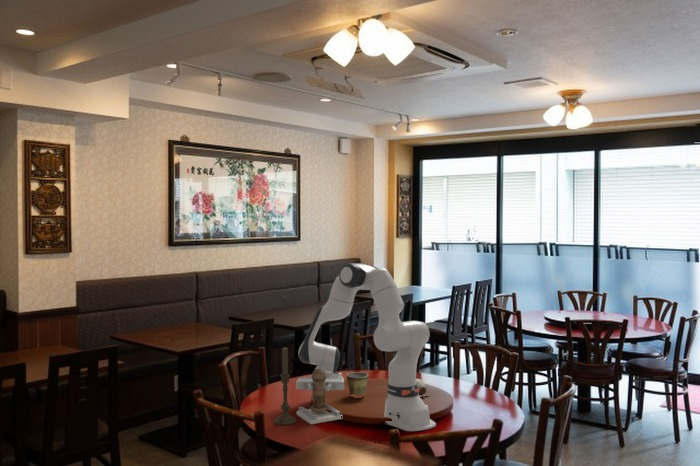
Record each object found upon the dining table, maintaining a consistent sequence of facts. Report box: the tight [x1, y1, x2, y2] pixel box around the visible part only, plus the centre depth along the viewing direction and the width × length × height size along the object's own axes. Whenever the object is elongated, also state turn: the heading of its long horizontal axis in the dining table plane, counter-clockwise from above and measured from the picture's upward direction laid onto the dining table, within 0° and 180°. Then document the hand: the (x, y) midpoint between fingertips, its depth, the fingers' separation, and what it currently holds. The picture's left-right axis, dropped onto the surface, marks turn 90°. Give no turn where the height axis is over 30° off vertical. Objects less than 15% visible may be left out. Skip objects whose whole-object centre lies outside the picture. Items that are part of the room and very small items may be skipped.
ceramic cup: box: [345, 371, 369, 395], centre depth 277 cm, size 13×10×10 cm
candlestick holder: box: [273, 347, 298, 426], centre depth 241 cm, size 9×9×30 cm
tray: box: [296, 402, 343, 425], centre depth 247 cm, size 14×14×3 cm
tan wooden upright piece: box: [310, 368, 328, 412], centre depth 247 cm, size 7×7×16 cm
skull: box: [416, 378, 427, 395], centre depth 278 cm, size 12×10×10 cm
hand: (318, 388), depth 246 cm, fingers closed on tan wooden upright piece, 5 cm apart
